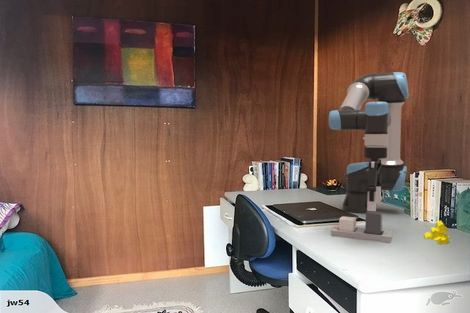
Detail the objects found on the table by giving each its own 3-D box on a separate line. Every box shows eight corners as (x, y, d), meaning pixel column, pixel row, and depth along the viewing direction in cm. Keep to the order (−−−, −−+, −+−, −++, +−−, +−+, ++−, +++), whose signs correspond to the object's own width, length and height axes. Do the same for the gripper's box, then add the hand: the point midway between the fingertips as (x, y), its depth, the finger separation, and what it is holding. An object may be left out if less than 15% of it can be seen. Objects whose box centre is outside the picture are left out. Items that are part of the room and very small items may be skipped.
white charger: (341, 232, 143) (342, 216, 142) (355, 233, 141) (355, 217, 140) (339, 235, 138) (339, 219, 138) (353, 237, 136) (353, 220, 136)
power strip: (335, 233, 145) (335, 224, 145) (392, 240, 136) (392, 230, 136) (331, 239, 138) (331, 229, 138) (390, 246, 129) (391, 236, 129)
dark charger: (367, 235, 139) (367, 210, 138) (381, 236, 137) (382, 211, 136) (365, 238, 134) (365, 213, 134) (380, 240, 132) (380, 214, 132)
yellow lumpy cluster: (421, 239, 138) (421, 218, 137) (443, 239, 137) (444, 218, 137) (428, 244, 132) (429, 222, 131) (452, 244, 132) (453, 222, 131)
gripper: (369, 145, 146) (367, 200, 147) (358, 147, 124) (357, 212, 125) (390, 145, 143) (388, 202, 144) (383, 148, 120) (381, 215, 122)
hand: (374, 207), depth 134 cm, fingers open, 13 cm apart
